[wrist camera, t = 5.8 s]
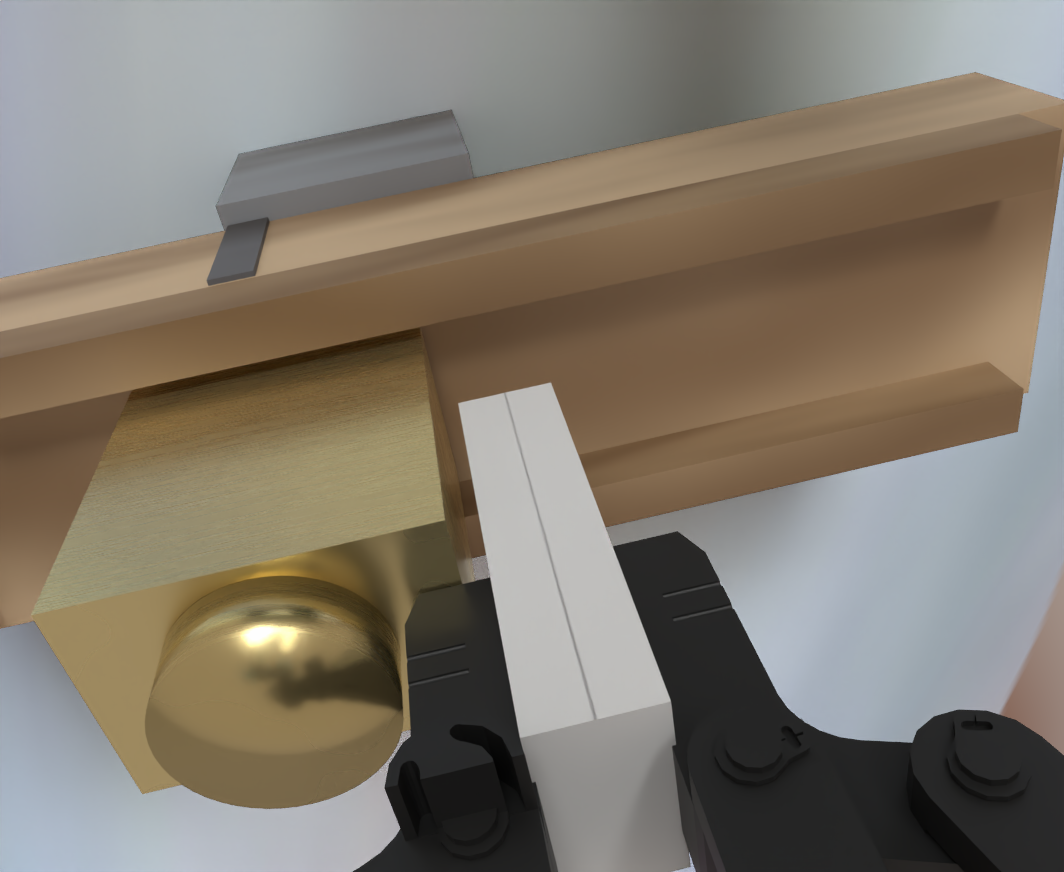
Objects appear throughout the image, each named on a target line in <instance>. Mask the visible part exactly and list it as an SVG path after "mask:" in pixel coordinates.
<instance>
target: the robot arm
mask: <svg viewBox="0 0 1064 872" xmlns="http://www.w3.org/2000/svg"><path fill="white" fill-rule="evenodd" d="M458 405H459V411H460V416H461V421H462V427H463V432H464V438H465V443H466V448H467V454H468V459H469V465H470V470H471V476H472V481H473V486H474V492H475V497H476V503H477V508H478V513H479V519H480V524H481V530H482V535H483V541H484V546H485V551H486V557H487V562H488V568H489V573H490V578H486V579H482V580H478V581H473V582H469V583H465V584H460V585H456V586H452V587H448V588H443V589H439V590H435V591H430V592H426V593H422V594H418V597H417V599H416V601H415V603H414V605H413V608H412V610H411V612H410V614H409V616H408V619H407V621H406V623H405V641H406V657H407V662H408V663H407V676H408V685H409V689H408V693H409V711H410V728H411V737H410V738H408V739H407V740H406V741H405V742H403V744H402V745H401V747H400V748H399V750H398V752H397V753H396V755H395V756H394V758H393V759H392V761H391V762H390V764H389V768H388V773H387V778H386V783H385V791H386V793H387V796H388V798H389V801H390V803H391V806H392V808H393V811H394V813H395V816H396V818H397V821H398V823H399V826H400V828H401V829H400V830H399V832H398V834H397V835H396V837H395V838H394V839H393V840H392V841H391V842H390V843H389V844H388V845H387V846H386V847H385V849H384V850H383V851H382V852H381V853H380V854H378V855H377V856H375V857H374V858H373V859H371V860H370V861H368V862H367V863H366V864H364V865H363V866H361V867H360V868H358V869H356V870H355V871H353V872H671V871H675V870H679V869H683V868H687V867H691V866H690V858H689V852H690V855H691V858H692V861H693V864H694V867H695V870H696V872H1064V755H1062V754H1061V753H1060V752H1059V751H1058V750H1057V749H1055V748H1054V747H1053V746H1052V745H1051V744H1050V743H1048V742H1047V741H1046V740H1045V739H1044V738H1043V737H1042V736H1040V735H1038V734H1037V733H1035V732H1034V731H1032V730H1031V729H1029V728H1027V727H1026V726H1024V725H1023V724H1021V723H1020V722H1018V721H1016V720H1014V719H1011V718H1007V717H1005V716H1002V715H998V714H995V713H992V712H989V711H980V710H955V711H952V712H948V713H945V714H941V715H938V716H934V717H933V718H932V719H930V720H929V721H928V722H927V723H926V724H924V725H923V726H922V727H921V728H920V729H918V730H917V732H916V735H915V737H914V740H913V743H906V742H885V741H863V740H855V739H848V738H841V737H837V736H834V735H831V734H828V733H825V732H822V731H819V730H817V729H816V728H814V727H812V726H810V725H809V724H807V723H805V722H804V721H803V720H801V719H800V718H798V717H797V716H796V715H795V714H794V713H792V712H791V711H790V710H789V709H788V708H787V707H786V705H785V704H784V703H783V701H782V700H781V698H780V697H779V695H778V694H777V692H776V690H775V688H774V686H773V684H772V682H771V680H770V678H769V676H768V674H767V672H766V670H765V668H764V667H763V665H762V663H761V661H760V659H759V657H758V655H757V653H756V651H755V649H754V647H753V645H752V643H751V641H750V639H749V637H748V635H747V633H746V631H745V629H744V627H743V625H742V623H741V621H740V620H739V618H738V616H737V614H736V612H735V610H734V609H733V608H732V605H731V602H730V600H729V598H728V596H727V594H726V592H725V590H724V588H723V586H721V585H720V581H719V578H718V576H717V574H716V573H715V571H714V569H713V567H712V565H711V563H710V561H709V559H708V557H707V555H706V553H705V552H704V551H703V550H701V549H700V548H699V547H698V546H696V545H695V544H694V543H692V542H691V541H690V540H688V539H687V538H686V537H684V536H683V535H682V534H680V533H679V532H678V531H677V532H673V533H669V534H665V535H660V536H656V537H652V538H647V539H643V540H639V541H635V542H630V543H626V544H622V545H617V546H612V543H611V541H610V538H609V535H608V533H607V530H606V527H605V525H604V522H603V520H602V517H601V514H600V512H599V509H598V506H597V504H596V501H595V498H594V496H593V493H592V490H591V488H590V485H589V482H588V480H587V477H586V474H585V472H584V469H583V466H582V464H581V461H580V458H579V456H578V453H577V450H576V448H575V445H574V442H573V440H572V437H571V435H570V432H569V429H568V427H567V424H566V421H565V419H564V416H563V413H562V411H561V408H560V405H559V403H558V400H557V397H556V395H555V392H554V389H553V387H552V384H551V383H546V384H542V385H537V386H533V387H528V388H524V389H519V390H515V391H510V392H506V393H501V394H497V395H492V396H488V397H484V398H479V399H475V400H470V401H466V402H461V403H458Z"/></svg>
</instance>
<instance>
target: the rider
mask: <svg viewBox="0 0 1064 872" xmlns="http://www.w3.org/2000/svg"><path fill="white" fill-rule="evenodd" d="M473 581H475V577H474V570H473V564H472V558H471V552H470V546H469V540H468V534H467V528H466V521H465V515H464V509H463V503H462V497H461V491H460V485H459V479H458V473H457V469H456V465H455V462H454V458H453V454H452V450H451V446H450V442H449V438H448V434H447V430H446V426H445V422H444V418H443V414H442V410H441V406H440V402H439V398H438V394H437V390H436V386H435V382H434V378H433V374H432V371H431V367H430V363H429V359H428V355H427V351H426V347H425V343H424V339H423V335H422V331H421V327H417V328H413V329H408V330H403V331H399V332H394V333H390V334H385V335H381V336H376V337H371V338H367V339H362V340H358V341H353V342H349V343H344V344H339V345H335V346H330V347H326V348H321V349H317V350H312V351H307V352H303V353H298V354H294V355H289V356H285V357H280V358H275V359H271V360H266V361H262V362H257V363H253V364H248V365H243V366H239V367H234V368H230V369H225V370H221V371H216V372H211V373H207V374H202V375H198V376H193V377H188V378H184V379H179V380H175V381H170V382H166V383H161V384H156V385H152V386H147V387H143V388H138V389H134V390H132V391H131V393H130V395H129V397H128V400H127V402H126V404H125V406H124V409H123V411H122V413H121V415H120V418H119V420H118V422H117V424H116V426H115V429H114V431H113V433H112V435H111V438H110V440H109V442H108V444H107V447H106V449H105V451H104V453H103V455H102V458H101V460H100V462H99V464H98V467H97V469H96V471H95V473H94V476H93V478H92V480H91V482H90V484H89V487H88V489H87V491H86V493H85V496H84V498H83V500H82V502H81V504H80V507H79V509H78V511H77V513H76V516H75V518H74V520H73V522H72V525H71V527H70V529H69V531H68V533H67V536H66V538H65V540H64V542H63V545H62V547H61V549H60V551H59V554H58V556H57V558H56V560H55V562H54V565H53V567H52V569H51V571H50V574H49V576H48V578H47V580H46V582H45V585H44V587H43V589H42V591H41V594H40V596H39V598H38V600H37V603H36V605H35V607H34V609H33V611H32V614H31V616H32V618H33V620H34V621H35V623H36V624H37V626H38V628H39V629H40V631H41V632H42V634H43V636H44V637H45V639H46V640H47V642H48V644H49V645H50V647H51V649H52V650H53V652H54V653H55V655H56V657H57V658H58V660H59V661H60V663H61V665H62V666H63V668H64V669H65V671H66V673H67V674H68V676H69V677H70V679H71V681H72V682H73V684H74V685H75V687H76V689H77V690H78V692H79V693H80V695H81V697H82V698H83V700H84V701H85V703H86V705H87V706H88V708H89V709H90V711H91V713H92V714H93V716H94V717H95V719H96V721H97V722H98V724H99V725H100V727H101V729H102V730H103V732H104V733H105V735H106V737H107V738H108V740H109V741H110V743H111V745H112V746H113V748H114V749H115V751H116V753H117V754H118V756H119V757H120V759H121V761H122V762H123V764H124V765H125V767H126V769H127V770H128V772H129V773H130V775H131V777H132V778H133V780H134V781H135V783H136V785H137V786H138V788H139V789H140V791H141V793H142V794H145V793H149V792H153V791H157V790H161V789H165V788H170V787H174V786H178V785H183V786H185V787H187V788H188V789H190V790H192V791H193V792H196V793H198V794H200V795H202V796H204V797H207V798H210V799H213V800H216V801H219V802H222V803H227V804H231V805H235V806H242V807H249V808H264V809H272V808H289V807H298V806H303V805H308V804H313V803H317V802H320V801H324V800H327V799H330V798H333V797H335V796H338V795H340V794H343V793H345V792H347V791H349V790H351V789H353V788H355V787H356V786H358V785H359V784H361V783H363V782H364V781H366V780H367V779H368V778H370V777H371V776H372V775H373V774H375V773H376V772H377V771H378V770H379V769H380V768H381V767H382V766H383V765H384V764H385V763H386V762H387V760H388V759H389V757H390V756H391V755H392V753H393V752H394V750H395V748H396V746H397V744H398V742H399V739H400V736H401V733H402V732H403V731H407V730H411V728H410V711H409V693H408V689H409V685H408V676H407V663H408V662H407V657H406V641H405V623H406V621H407V619H408V616H409V614H410V612H411V610H412V608H413V605H414V603H415V601H416V599H417V597H418V594H422V593H426V592H430V591H435V590H439V589H443V588H448V587H452V586H456V585H460V584H465V583H469V582H473Z"/></svg>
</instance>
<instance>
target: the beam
mask: <svg viewBox="0 0 1064 872" xmlns="http://www.w3.org/2000/svg"><path fill="white" fill-rule="evenodd" d="M1063 157H1064V100H1063V99H1059V98H1056V97H1053V96H1050V95H1047V94H1043V93H1040V92H1037V91H1034V90H1031V89H1027V88H1024V87H1021V86H1018V85H1015V84H1011V83H1008V82H1005V81H1002V80H999V79H995V78H992V77H989V76H986V75H983V74H980V73H976V72H974V73H970V74H965V75H960V76H955V77H951V78H946V79H941V80H936V81H932V82H927V83H922V84H917V85H913V86H908V87H903V88H899V89H894V90H889V91H884V92H880V93H875V94H870V95H865V96H861V97H856V98H851V99H846V100H842V101H837V102H832V103H827V104H823V105H818V106H813V107H809V108H804V109H799V110H794V111H790V112H785V113H780V114H775V115H771V116H766V117H761V118H756V119H752V120H747V121H742V122H738V123H733V124H728V125H723V126H719V127H714V128H709V129H704V130H700V131H695V132H690V133H685V134H681V135H676V136H671V137H666V138H662V139H657V140H652V141H648V142H643V143H638V144H633V145H629V146H624V147H619V148H614V149H610V150H605V151H600V152H595V153H591V154H586V155H581V156H576V157H572V158H567V159H562V160H558V161H553V162H548V163H543V164H539V165H534V166H529V167H524V168H520V169H515V170H510V171H505V172H501V173H496V174H491V175H487V176H482V177H477V178H473V173H472V168H471V163H470V158H469V153H468V150H467V148H466V145H465V143H464V140H463V138H462V135H461V133H460V130H459V128H458V125H457V123H456V120H455V118H454V115H453V112H452V110H449V111H444V112H439V113H434V114H430V115H425V116H420V117H415V118H410V119H405V120H401V121H396V122H391V123H386V124H381V125H376V126H372V127H367V128H362V129H357V130H352V131H347V132H343V133H338V134H333V135H328V136H323V137H318V138H314V139H309V140H304V141H299V142H294V143H290V144H285V145H280V146H275V147H270V148H265V149H261V150H256V151H251V152H246V153H241V154H239V155H238V157H237V160H236V162H235V164H234V166H233V169H232V171H231V173H230V175H229V178H228V180H227V182H226V184H225V187H224V189H223V191H222V193H221V196H220V198H219V200H218V202H217V205H216V208H217V211H218V214H219V217H220V220H221V222H222V225H223V228H224V231H221V232H217V233H212V234H207V235H202V236H198V237H193V238H188V239H183V240H179V241H174V242H169V243H164V244H160V245H155V246H150V247H146V248H141V249H136V250H131V251H127V252H122V253H117V254H112V255H108V256H103V257H98V258H93V259H89V260H84V261H79V262H74V263H70V264H65V265H60V266H56V267H51V268H46V269H41V270H37V271H32V272H27V273H22V274H18V275H13V276H8V277H3V278H0V629H1V628H5V627H10V626H14V625H18V624H23V623H27V622H31V621H34V620H33V618H32V616H31V614H32V611H33V609H34V607H35V605H36V603H37V600H38V598H39V596H40V594H41V591H42V589H43V587H44V585H45V582H46V580H47V578H48V576H49V574H50V571H51V569H52V567H53V565H54V562H55V560H56V558H57V556H58V554H59V551H60V549H61V547H62V545H63V542H64V540H65V538H66V536H67V533H68V531H69V529H70V527H71V525H72V522H73V520H74V518H75V516H76V513H77V511H78V509H79V507H80V504H81V502H82V500H83V498H84V496H85V493H86V491H87V489H88V487H89V484H90V482H91V480H92V478H93V476H94V473H95V471H96V469H97V467H98V464H99V462H100V460H101V458H102V455H103V453H104V451H105V449H106V447H107V444H108V442H109V440H110V438H111V435H112V433H113V431H114V429H115V426H116V424H117V422H118V420H119V418H120V415H121V413H122V411H123V409H124V406H125V404H126V402H127V400H128V397H129V395H130V393H131V391H132V390H134V389H138V388H143V387H147V386H152V385H156V384H161V383H166V382H170V381H175V380H179V379H184V378H188V377H193V376H198V375H202V374H207V373H211V372H216V371H221V370H225V369H230V368H234V367H239V366H243V365H248V364H253V363H257V362H262V361H266V360H271V359H275V358H280V357H285V356H289V355H294V354H298V353H303V352H307V351H312V350H317V349H321V348H326V347H330V346H335V345H339V344H344V343H349V342H353V341H358V340H362V339H367V338H371V337H376V336H381V335H385V334H390V333H394V332H399V331H403V330H408V329H413V328H417V327H421V331H422V335H423V339H424V343H425V347H426V351H427V355H428V359H429V363H430V367H431V371H432V374H433V378H434V382H435V386H436V390H437V394H438V398H439V402H440V406H441V410H442V414H443V418H444V422H445V426H446V430H447V434H448V438H449V442H450V446H451V450H452V454H453V458H454V462H455V465H456V469H457V473H458V479H459V485H460V491H461V497H462V503H463V509H464V515H465V521H466V528H467V534H468V540H469V546H470V552H471V558H475V557H479V556H484V555H486V551H485V546H484V541H483V535H482V530H481V524H480V519H479V513H478V508H477V503H476V497H475V492H474V486H473V481H472V476H471V470H470V465H469V459H468V454H467V448H466V443H465V438H464V432H463V427H462V421H461V416H460V411H459V405H458V403H461V402H466V401H470V400H475V399H479V398H484V397H488V396H492V395H497V394H501V393H506V392H510V391H515V390H519V389H524V388H528V387H533V386H537V385H542V384H546V383H551V384H552V387H553V389H554V392H555V395H556V397H557V400H558V403H559V405H560V408H561V411H562V413H563V416H564V419H565V421H566V424H567V427H568V429H569V432H570V435H571V437H572V440H573V442H574V445H575V448H576V450H577V453H578V456H579V458H580V461H581V464H582V466H583V469H584V472H585V474H586V477H587V480H588V482H589V485H590V488H591V490H592V493H593V496H594V498H595V501H596V504H597V506H598V509H599V512H600V514H601V517H602V520H603V522H604V525H605V527H609V526H613V525H617V524H622V523H626V522H630V521H635V520H639V519H643V518H648V517H652V516H656V515H661V514H665V513H669V512H674V511H678V510H682V509H687V508H691V507H695V506H699V505H704V504H708V503H712V502H717V501H721V500H725V499H730V498H734V497H738V496H743V495H747V494H751V493H756V492H760V491H764V490H768V489H773V488H777V487H781V486H786V485H790V484H794V483H799V482H803V481H807V480H812V479H816V478H820V477H825V476H829V475H833V474H838V473H842V472H846V471H850V470H855V469H859V468H863V467H868V466H872V465H876V464H881V463H885V462H889V461H894V460H898V459H902V458H907V457H911V456H915V455H919V454H924V453H928V452H932V451H937V450H941V449H945V448H950V447H954V446H958V445H963V444H967V443H971V442H976V441H980V440H984V439H989V438H993V437H997V436H1001V435H1006V434H1010V433H1014V432H1018V425H1019V419H1020V412H1021V405H1022V398H1023V394H1024V393H1028V389H1029V383H1030V376H1031V369H1032V363H1033V356H1034V350H1035V343H1036V336H1037V330H1038V323H1039V316H1040V310H1041V303H1042V296H1043V290H1044V283H1045V276H1046V270H1047V263H1048V256H1049V250H1050V243H1051V236H1052V230H1053V223H1054V216H1055V210H1056V203H1057V197H1058V190H1059V183H1060V177H1061V170H1062V163H1063Z"/></svg>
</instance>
